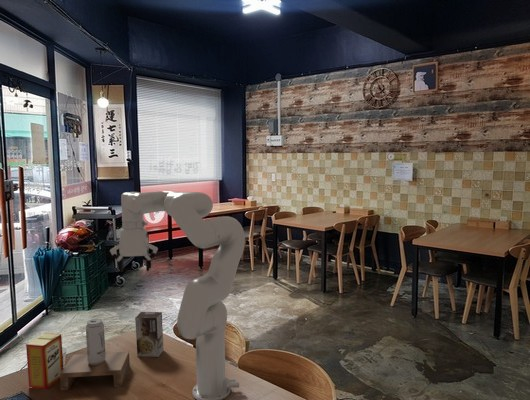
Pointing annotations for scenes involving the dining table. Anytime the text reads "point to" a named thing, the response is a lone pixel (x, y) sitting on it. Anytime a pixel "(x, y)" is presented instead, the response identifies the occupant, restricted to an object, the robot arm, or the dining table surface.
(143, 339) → the coffee box
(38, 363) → the baking soda box
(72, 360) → the walnut stand
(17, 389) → the dining table surface
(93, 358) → the energy drink can
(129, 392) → the dining table surface
